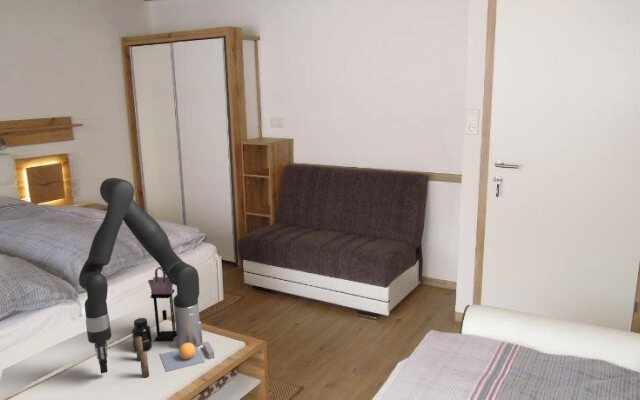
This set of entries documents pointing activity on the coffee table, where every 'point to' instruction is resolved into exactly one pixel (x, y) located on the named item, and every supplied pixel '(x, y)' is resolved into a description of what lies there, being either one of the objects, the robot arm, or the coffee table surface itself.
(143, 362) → the post
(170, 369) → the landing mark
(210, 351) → the wall
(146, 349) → the supplement bottle
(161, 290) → the handbag on black stand
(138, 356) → the post
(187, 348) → the ball
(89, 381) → the coffee table surface
